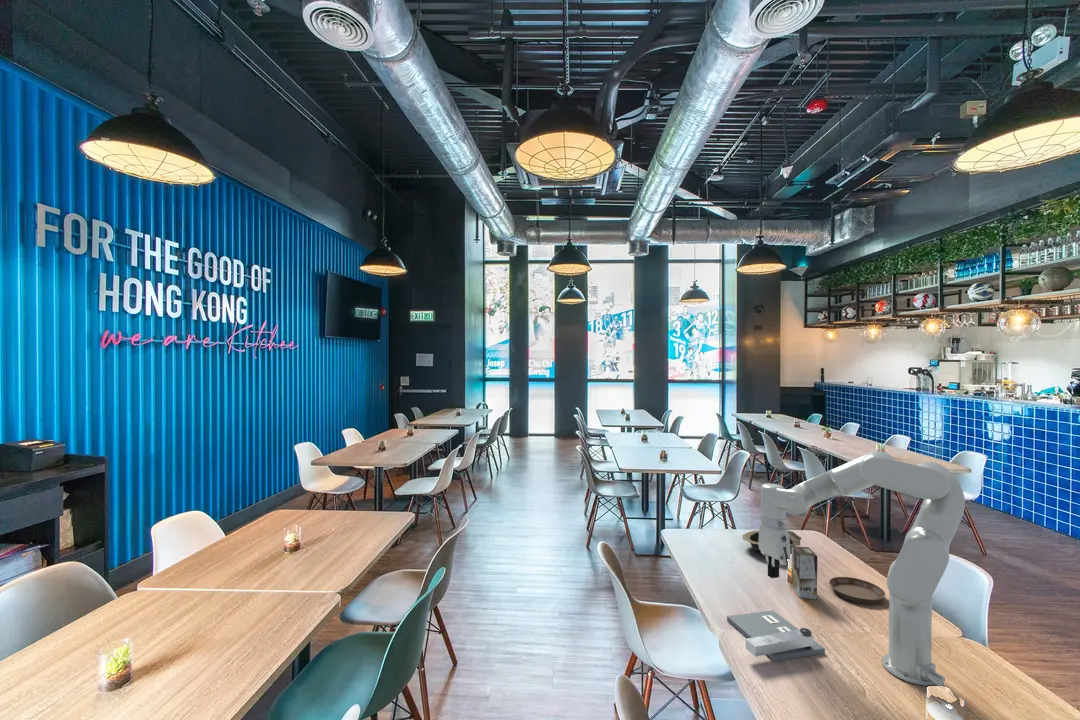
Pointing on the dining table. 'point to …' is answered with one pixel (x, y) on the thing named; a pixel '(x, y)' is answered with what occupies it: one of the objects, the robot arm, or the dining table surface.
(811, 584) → the coffee box
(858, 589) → the plant saucer
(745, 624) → the label board
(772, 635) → the swing bar
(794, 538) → the stone bowl
